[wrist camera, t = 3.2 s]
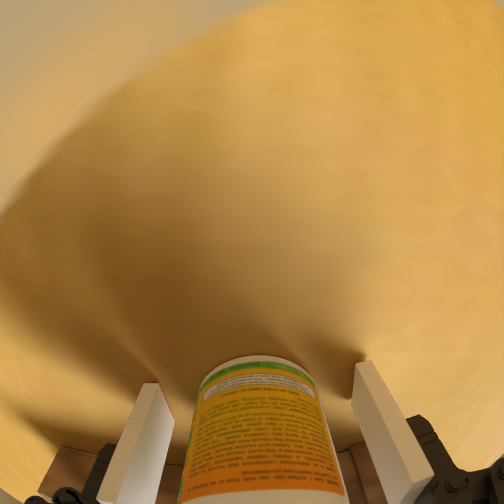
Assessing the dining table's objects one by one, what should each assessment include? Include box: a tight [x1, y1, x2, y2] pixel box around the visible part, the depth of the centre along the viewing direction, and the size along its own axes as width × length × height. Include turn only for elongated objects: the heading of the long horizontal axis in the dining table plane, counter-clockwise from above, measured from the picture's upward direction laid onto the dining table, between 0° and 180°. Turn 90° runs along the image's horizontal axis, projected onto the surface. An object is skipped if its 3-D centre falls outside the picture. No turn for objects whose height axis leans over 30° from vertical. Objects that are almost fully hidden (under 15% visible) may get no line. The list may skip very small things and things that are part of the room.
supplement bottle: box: [177, 355, 350, 504], centre depth 7 cm, size 5×5×10 cm
